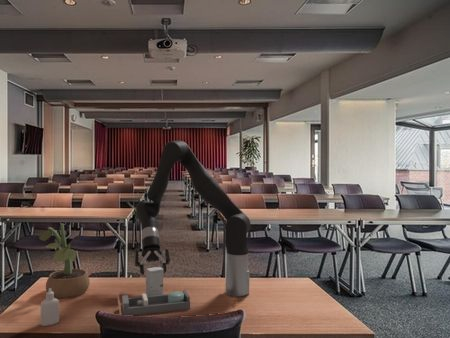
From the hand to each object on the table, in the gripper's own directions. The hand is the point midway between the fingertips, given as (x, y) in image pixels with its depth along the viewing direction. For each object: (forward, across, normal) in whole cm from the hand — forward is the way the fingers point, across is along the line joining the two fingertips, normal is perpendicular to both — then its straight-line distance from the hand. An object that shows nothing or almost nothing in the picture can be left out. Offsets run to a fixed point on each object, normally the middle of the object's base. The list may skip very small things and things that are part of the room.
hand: (153, 273), depth 157 cm
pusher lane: (+16, -1, -4) cm, 17 cm away
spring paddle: (+16, -6, -4) cm, 17 cm away
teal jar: (+16, +7, -4) cm, 18 cm away
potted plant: (-1, -35, +14) cm, 37 cm away
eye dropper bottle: (+18, -37, -5) cm, 41 cm away
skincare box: (+9, 0, +4) cm, 10 cm away
